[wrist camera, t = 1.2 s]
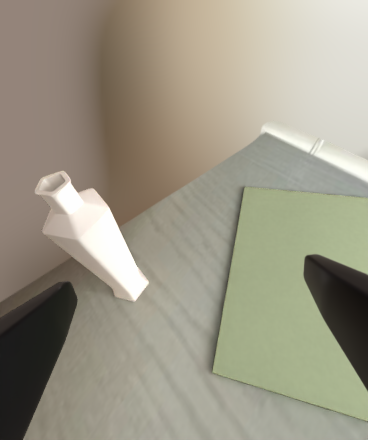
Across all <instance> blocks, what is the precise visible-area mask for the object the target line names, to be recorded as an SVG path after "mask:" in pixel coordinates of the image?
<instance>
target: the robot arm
mask: <svg viewBox="0 0 368 440" xmlns="http://www.w3.org/2000/svg"><path fill="white" fill-rule="evenodd" d="M303 275H304V280H305V282H306V284H307V286H308V288H309V290H310V293H311V295H312V297H313V299H314V301H315V303H316V305H317V307H318V309H319V312H320V314H321V316H322V317H323V319H324V321H325V323H326V324H327V326H328V328H329V329H330V331H331V332H332V334H333V336H334V337H335V339H336V341H337V342H338V344H339V345H340V347H341V349H342V350H343V352H344V354H345V355H346V357H347V359H348V360H349V362H350V363H351V365H352V367H353V368H354V370H355V372H356V373H357V375H358V376H359V378H360V380H361V381H362V383H363V385H364V386H365V388H366V390H367V391H368V274H366V273H363V272H361V271H358V270H356V269H353V268H351V267H348V266H346V265H344V264H341V263H339V262H336V261H334V260H331V259H329V258H326V257H324V256H321V255H319V254H311V255H306V256H305V259H304V272H303ZM76 306H77V296H76V293H75V291H74V288H73V286H72V284H71V282H69V281H65V282H58V283H56V284H55V285H53V286H52V287H50V288H48V289H47V290H45V291H43V292H42V293H40V294H39V295H37V296H35V297H34V298H32V299H30V300H29V301H27V302H25V303H24V304H22V305H21V306H19V307H17V308H16V309H14V310H12V311H11V312H9V313H7V314H6V315H4V316H3V317H1V318H0V440H23V438H24V436H25V434H26V431H27V429H28V427H29V424H30V422H31V420H32V417H33V415H34V413H35V410H36V408H37V406H38V403H39V401H40V399H41V396H42V394H43V392H44V389H45V387H46V385H47V382H48V380H49V378H50V375H51V373H52V371H53V368H54V366H55V364H56V361H57V359H58V357H59V354H60V352H61V350H62V347H63V345H64V342H65V340H66V337H67V334H68V331H69V328H70V325H71V321H72V318H73V315H74V312H75V309H76Z"/></svg>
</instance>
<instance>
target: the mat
mask: <svg viewBox="0 0 368 440" xmlns="http://www.w3.org/2000/svg"><path fill="white" fill-rule="evenodd" d="M311 254H319V255H321V256H324V257H326V258H329V259H331V260H334V261H336V262H339V263H341V264H344V265H346V266H348V267H351V268H353V269H356V270H358V271H361V272H363V273H366V274H368V198H361V197H350V196H339V195H329V194H318V193H307V192H296V191H285V190H275V189H264V188H253V187H244V193H243V199H242V205H241V210H240V216H239V222H238V227H237V233H236V239H235V245H234V250H233V256H232V262H231V267H230V273H229V279H228V284H227V290H226V296H225V302H224V307H223V313H222V319H221V324H220V330H219V336H218V341H217V347H216V353H215V359H214V364H213V370H212V373H214V374H217V375H220V376H224V377H227V378H230V379H233V380H236V381H240V382H243V383H246V384H249V385H252V386H255V387H259V388H262V389H265V390H268V391H271V392H275V393H278V394H281V395H284V396H287V397H291V398H294V399H297V400H300V401H303V402H306V403H310V404H313V405H316V406H319V407H322V408H326V409H329V410H332V411H335V412H338V413H342V414H345V415H348V416H351V417H354V418H357V419H361V420H364V421H367V422H368V391H367V390H366V388H365V386H364V385H363V383H362V381H361V380H360V378H359V376H358V375H357V373H356V372H355V370H354V368H353V367H352V365H351V363H350V362H349V360H348V359H347V357H346V355H345V354H344V352H343V350H342V349H341V347H340V345H339V344H338V342H337V341H336V339H335V337H334V336H333V334H332V332H331V331H330V329H329V328H328V326H327V324H326V323H325V321H324V319H323V317H322V316H321V314H320V312H319V309H318V307H317V305H316V303H315V301H314V299H313V297H312V295H311V293H310V290H309V288H308V286H307V284H306V282H305V280H304V275H303V272H304V259H305V256H306V255H311Z"/></svg>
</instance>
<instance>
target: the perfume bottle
mask: <svg viewBox="0 0 368 440" xmlns="http://www.w3.org/2000/svg"><path fill="white" fill-rule="evenodd" d="M70 182H71V179H70V178H69V176H68V175H67V174H66V172H65V171H59V172H56V173H53V174H50V175H47V176H44V177H43V178H41V179H40V181H39V183H38V185H37V187H36V189H35V191H34V193H35V194H37V195H40V196H41V197H42V198H43V199H44V200H45V202H46V203H47V204H48V205H49V206H50V207H51V209H50V212H49V214H48V217H47V219H46V221H45V224H44V227H43V229H42V233H43V234H44V235H45V236H47V237H48V238H49V239H50V240H52V241H53V242H54V243H55V244H57V245H58V246H59V247H61V248H62V249H63V250H65V251H66V252H67V253H68V254H69V255H71V256H72V257H73V258H75V259H76V260H77V261H78V262H80V263H81V264H82V265H83V266H85V267H86V268H87V269H88V270H90V271H91V272H92V273H94V274H95V275H96V276H97V277H99V278H100V279H101V280H102V281H104V282H105V283H106V284H108V285H109V286H110V287H111V288H112V289H113V293H114V296H115V297H118V298H122V299H126V300H130V301H135V300H136V299H137V298H138V297H139V295H140V294H141V293H142V291H143V290H144V289H145V287H146V286H147V285H148V283H149V281H148V280H147V278H146V277H145V276H144V274H143V273H142V272H141V270H140V269H139V268H138V267H137V266H136V264H135V262H134V260H133V257H132V255H131V253H130V251H129V249H128V247H127V245H126V243H125V240H124V238H123V236H122V234H121V232H120V230H119V228H118V226H117V224H116V221H115V219H114V217H113V215H112V213H111V211H110V209H109V206H108V205H107V204H106V203H105V202H104V200H103V199H102V198H101V197H100V196H99V194H98V193H97V192H96V191H95V190H94V189H93V188H90V189H87V190H84V191H81V192H78V193H77V191H76V190H75V189H74V187H73V186H72V184H71V183H70Z"/></svg>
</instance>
